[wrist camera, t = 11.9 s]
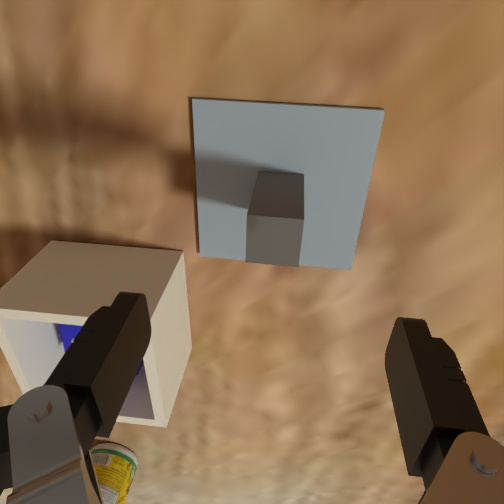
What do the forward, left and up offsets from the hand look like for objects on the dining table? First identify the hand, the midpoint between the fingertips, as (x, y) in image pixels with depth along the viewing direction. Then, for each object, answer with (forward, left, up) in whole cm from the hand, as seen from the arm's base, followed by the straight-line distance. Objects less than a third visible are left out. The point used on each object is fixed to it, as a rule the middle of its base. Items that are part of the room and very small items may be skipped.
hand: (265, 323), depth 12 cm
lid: (+1, 0, -13) cm, 13 cm away
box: (+10, -11, -12) cm, 19 cm away
